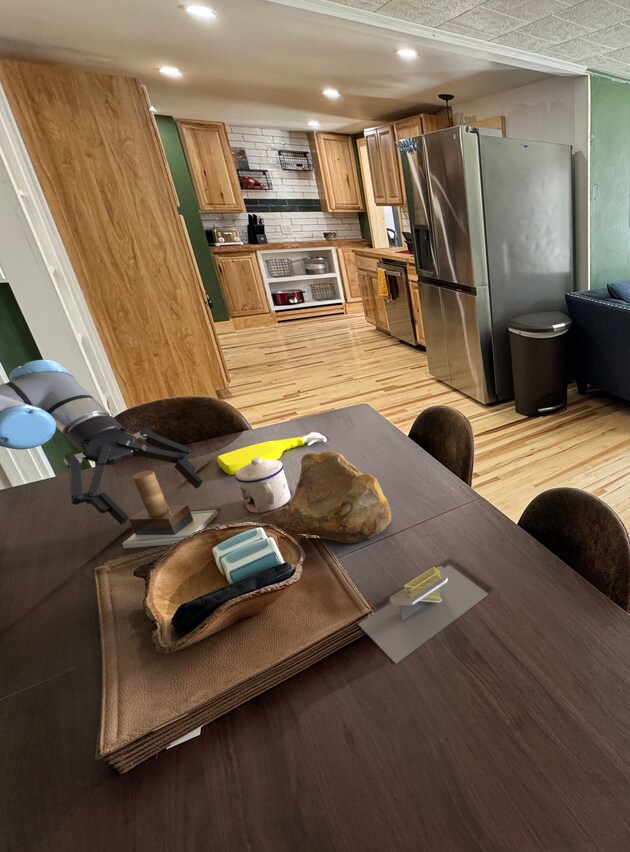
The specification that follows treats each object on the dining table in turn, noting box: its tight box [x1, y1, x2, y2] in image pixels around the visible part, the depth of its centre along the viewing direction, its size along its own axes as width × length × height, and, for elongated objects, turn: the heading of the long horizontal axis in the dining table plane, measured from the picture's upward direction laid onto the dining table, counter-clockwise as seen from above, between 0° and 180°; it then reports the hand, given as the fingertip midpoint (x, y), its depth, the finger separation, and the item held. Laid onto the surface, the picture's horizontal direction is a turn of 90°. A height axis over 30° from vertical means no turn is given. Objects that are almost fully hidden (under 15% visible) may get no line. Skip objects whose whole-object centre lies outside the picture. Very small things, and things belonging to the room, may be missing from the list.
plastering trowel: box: [357, 565, 489, 665], centre depth 81 cm, size 12×18×7 cm, turn 142°
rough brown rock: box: [283, 450, 392, 545], centre depth 99 cm, size 23×17×15 cm
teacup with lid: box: [234, 457, 291, 514], centre depth 108 cm, size 12×9×12 cm
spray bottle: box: [216, 431, 328, 476], centre depth 131 cm, size 3×11×24 cm
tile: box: [121, 509, 219, 549], centre depth 101 cm, size 12×10×1 cm
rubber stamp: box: [128, 470, 193, 535], centre depth 97 cm, size 8×5×13 cm, turn 91°
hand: (164, 502), depth 98 cm, fingers open, 13 cm apart
